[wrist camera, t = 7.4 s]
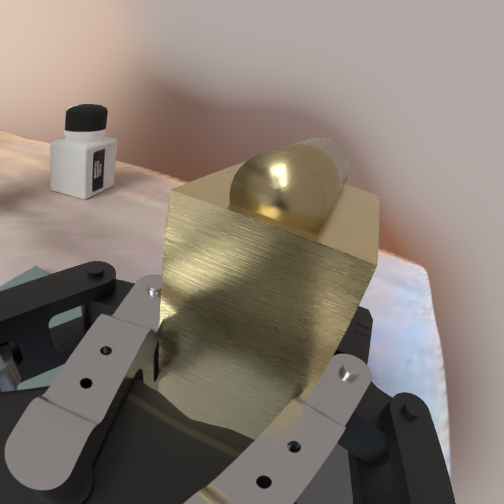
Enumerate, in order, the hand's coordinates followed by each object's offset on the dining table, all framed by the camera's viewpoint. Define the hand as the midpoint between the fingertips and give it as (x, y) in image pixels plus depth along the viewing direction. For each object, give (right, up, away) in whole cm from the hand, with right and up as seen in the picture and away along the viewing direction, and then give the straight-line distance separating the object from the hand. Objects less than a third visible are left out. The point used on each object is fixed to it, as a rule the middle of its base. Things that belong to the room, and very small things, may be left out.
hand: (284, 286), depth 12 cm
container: (-28, +11, +32) cm, 44 cm away
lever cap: (-3, -8, +2) cm, 9 cm away
